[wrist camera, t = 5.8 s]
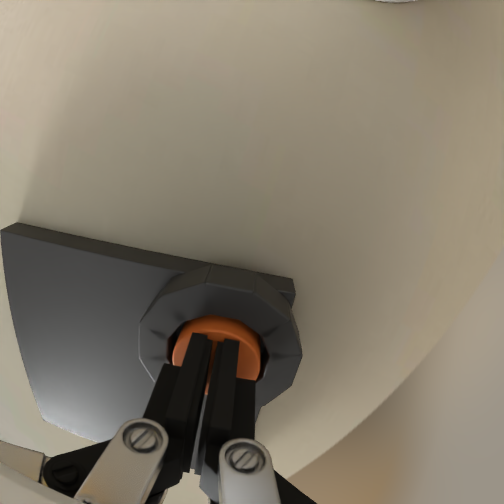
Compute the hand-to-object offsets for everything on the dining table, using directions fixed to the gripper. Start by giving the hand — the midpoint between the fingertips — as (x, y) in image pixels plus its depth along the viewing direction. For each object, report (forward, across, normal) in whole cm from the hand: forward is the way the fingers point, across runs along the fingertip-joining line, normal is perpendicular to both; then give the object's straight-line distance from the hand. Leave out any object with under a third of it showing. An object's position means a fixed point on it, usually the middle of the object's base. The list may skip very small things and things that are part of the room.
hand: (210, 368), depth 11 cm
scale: (+4, +4, +4) cm, 7 cm away
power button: (+2, 0, 0) cm, 2 cm away
